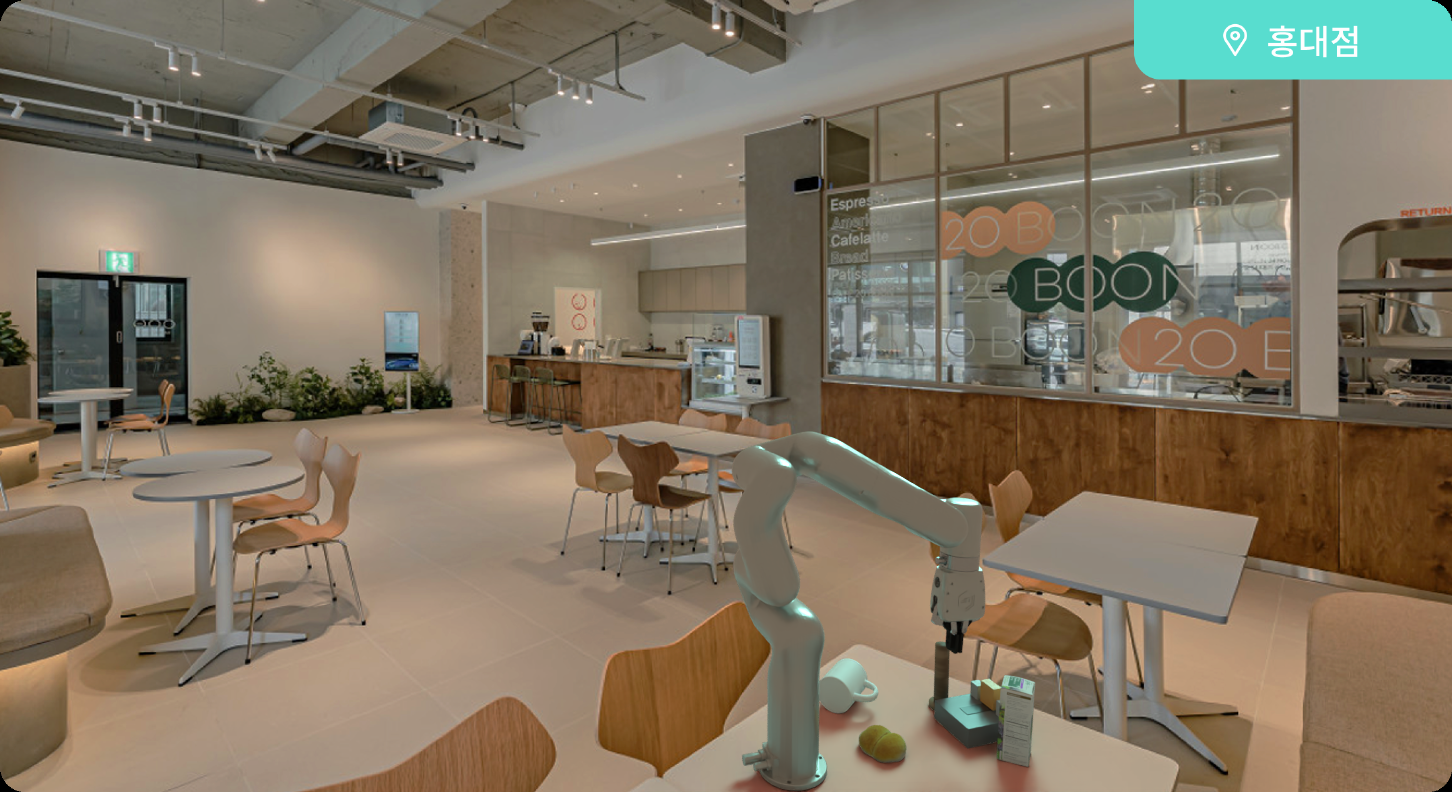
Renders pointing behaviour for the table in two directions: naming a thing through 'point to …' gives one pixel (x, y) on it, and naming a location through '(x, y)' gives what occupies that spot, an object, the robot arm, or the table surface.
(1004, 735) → the syrup box
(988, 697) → the block
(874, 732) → the bread roll
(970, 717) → the switch box
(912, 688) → the table surface
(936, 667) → the post
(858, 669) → the mug
